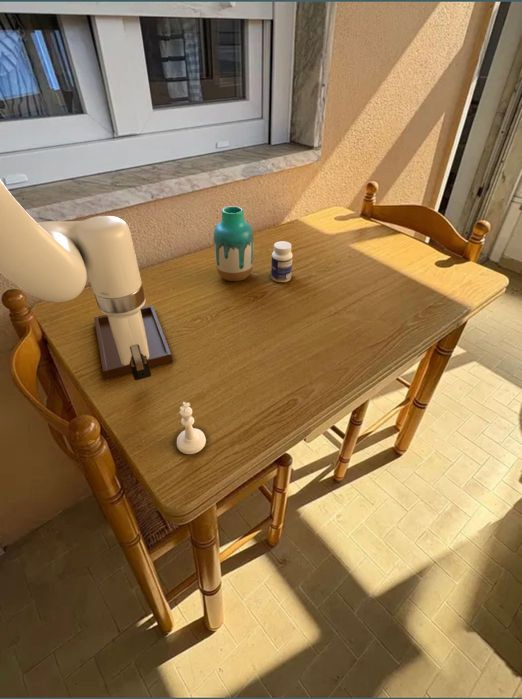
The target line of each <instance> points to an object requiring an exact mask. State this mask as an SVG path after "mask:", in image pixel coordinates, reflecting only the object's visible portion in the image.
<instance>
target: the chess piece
mask: <svg viewBox="0 0 522 699" xmlns="http://www.w3.org/2000/svg"><path fill="white" fill-rule="evenodd" d="M190 406H191V403H190V402H189V401H188V402H186V401H183V402H182V405H181V406H180V407H179V415H180V417H181V420H180V424H181V425H182V426H183V427H184V430H182V431H181V432H180V433H179V434H178V436H177V438H176V447H177V449H178V451H179V452H180V453H182V454H186V455H194V454H197V453H199V452H200V451H202V450H203V448H204V447H205V446H206V442H207V438H206V435H205V433H204V432H203V431H202V430H201V429H199V428H196V427H193V425H194V423H195V418H194V416H192V415H193V409H192V408H191V407H190Z"/></svg>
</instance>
